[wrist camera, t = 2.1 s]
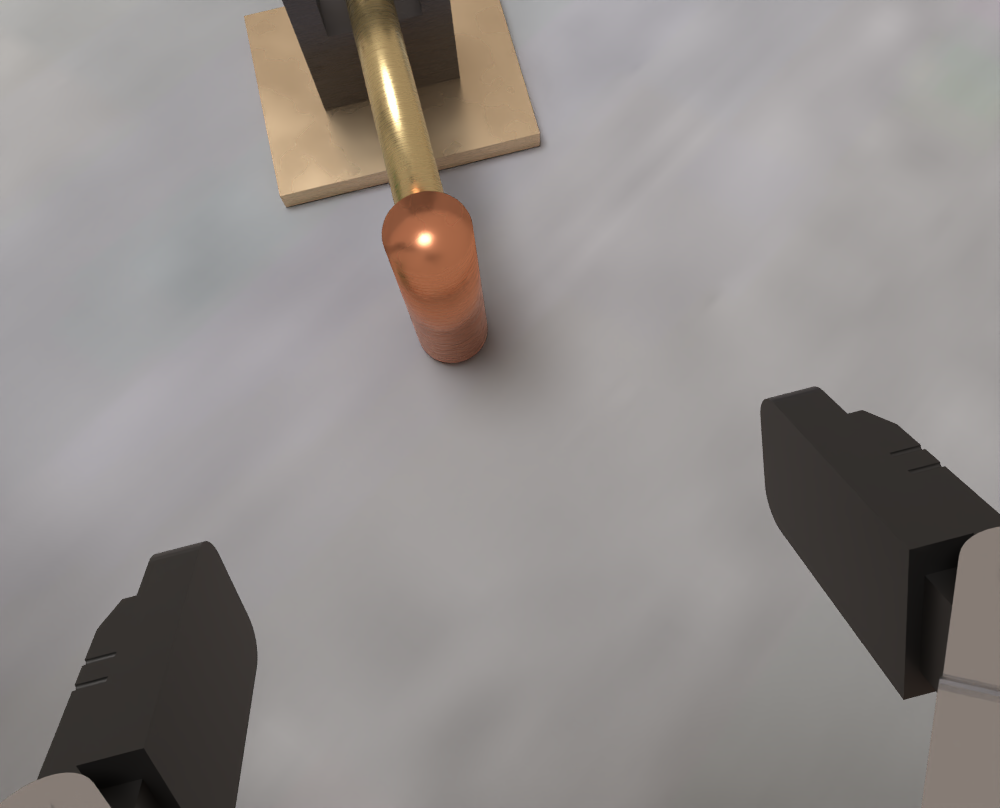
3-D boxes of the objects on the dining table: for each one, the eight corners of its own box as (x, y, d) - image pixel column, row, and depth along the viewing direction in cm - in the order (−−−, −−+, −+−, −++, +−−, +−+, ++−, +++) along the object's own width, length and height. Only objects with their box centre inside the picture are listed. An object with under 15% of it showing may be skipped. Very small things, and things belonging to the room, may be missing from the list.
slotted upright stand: (539, 145, 39) (541, -32, 29) (286, 207, 39) (196, 49, 28) (487, -26, 42) (472, -244, 32) (250, 30, 41) (157, -172, 31)
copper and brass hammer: (494, 353, 36) (482, 261, 27) (426, 370, 36) (392, 283, 27) (394, -28, 42) (357, -204, 33) (334, -14, 42) (282, -187, 33)
